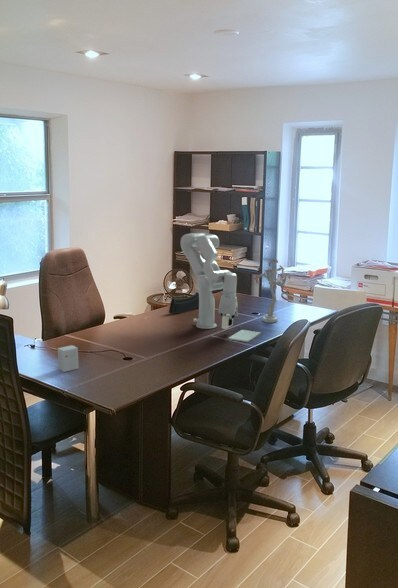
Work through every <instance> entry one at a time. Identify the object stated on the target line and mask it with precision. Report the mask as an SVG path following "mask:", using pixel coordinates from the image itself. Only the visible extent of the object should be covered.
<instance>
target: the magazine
mask: <svg viewBox="0 0 398 588" xmlns="http://www.w3.org/2000/svg"><path fill="white" fill-rule="evenodd" d="M195 309H199V292H195V293H194V294H193V295H190V296H187V297H183V298H179V299H176V298H171V301H170V305H169V309H168V313H169V314H182V312H183V313H186V311H187V312H190V310H191V311H193V310H195Z"/></svg>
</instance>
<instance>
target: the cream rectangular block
mask: <svg viewBox="0 0 398 588" xmlns="http://www.w3.org/2000/svg"><path fill="white" fill-rule="evenodd" d="M221 318H222V319H221V329H223V330H227V329H229V328H230V327H232V326H233V325H234V318H233V319H232V325H230V326H228V324H229V319H230V315H229V314H226V315H225V316H223V317H222V316H221Z"/></svg>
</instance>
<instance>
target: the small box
mask: <svg viewBox="0 0 398 588" xmlns="http://www.w3.org/2000/svg"><path fill="white" fill-rule="evenodd" d="M57 362H58V363H57V364H58V365H57V366H58V368H57V369H58V370H60V371H61V372H63V373H65V372H70V371H74V370H78V369H80V367H79V349H78V347H77V346H75V345H73V344H71V345H66V346H61V347H58V348H57Z"/></svg>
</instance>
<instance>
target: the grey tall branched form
mask: <svg viewBox="0 0 398 588" xmlns="http://www.w3.org/2000/svg"><path fill="white" fill-rule="evenodd" d="M271 263H272V268H271ZM275 263H278V264H279V260H278V259H277V258H275V259H273V258H272V260H270V261H268V266H269V267H270V268H268V269H262V270H263V272H264V273H260V274H259V273H256V274H255V275H254V276H255V277H254V278H253V281H252V282H256V283H255V284H258V285H260V281H259V279H260V278H262V277H264V278H265V279H266V280H267V281H268V282H269V283H268V284H269V291H270V293H271V296H272V297H271V298H272V299H271V301H270V303H269V304H268V306H267V313H266V314H265V316H263V317H262V322H264V323H269V324H271V323H273V324H274V323H277V322H278V317H276V315H274V309H275V305H276V302H277V296H276V294H275V292H274V290H277V289H278V288H277V286H279V287H283V286H284V285H285V284H286V282H287V278H288V279H289V280H290V279H291V275H290V274H287V273H286V274H285V273H284V272H285V271H284V270H285V269H284V267H283V266H282V265H279V267H278V268H276V264H275ZM279 271H281V274H280V279H279V280H278V279H277V278H276V276H277V275H278V273H279ZM277 280H278V281H277ZM281 280H282V281H281ZM257 314H261V315H262V314H263V313H261V312H260V313H257Z"/></svg>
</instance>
